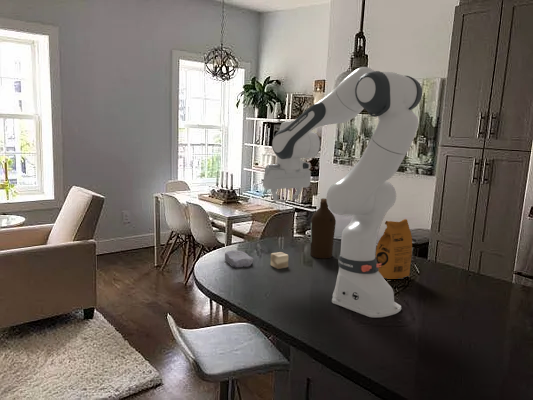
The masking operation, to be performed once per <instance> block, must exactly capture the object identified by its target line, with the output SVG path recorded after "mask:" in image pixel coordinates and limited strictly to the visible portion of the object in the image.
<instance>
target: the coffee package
mask: <svg viewBox="0 0 533 400" xmlns="http://www.w3.org/2000/svg"><path fill="white" fill-rule="evenodd" d="M384 225H386V228H385V230H384V232H383V234H382V235H381V236H380V238H379V240H378V241H377V244H376V254H375V257H376V259H377V263H378V264H379V263H382V264H381V265H379V266H381V267H378V268H379V272H380V274H381V275H382V276H383V278H387V279H398V278H403V277H405V276H409V277H410V273H411V263H412V255H413V251H412V250H413V236H412V232H411V229H410V225H409V222H408V219H407V218H404V219H402V220H401V221H393V220H389V221H388V220H385V222H384Z"/></svg>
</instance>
